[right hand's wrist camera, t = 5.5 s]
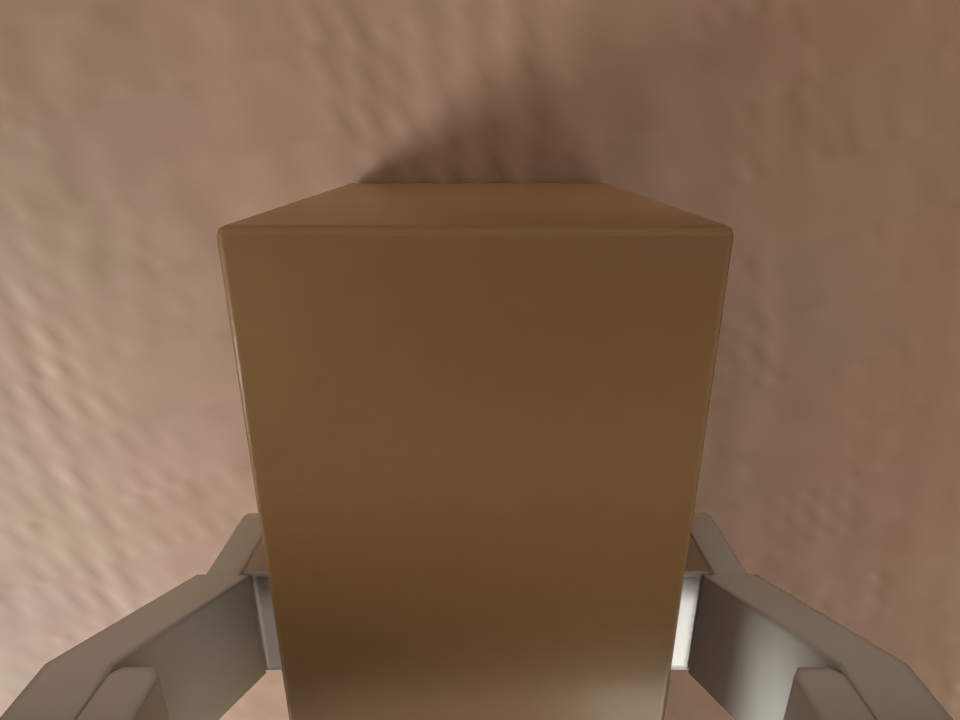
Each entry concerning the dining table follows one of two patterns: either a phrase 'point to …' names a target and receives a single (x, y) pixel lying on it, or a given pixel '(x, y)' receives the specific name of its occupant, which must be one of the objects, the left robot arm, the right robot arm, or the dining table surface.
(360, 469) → the bar
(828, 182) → the dining table surface
